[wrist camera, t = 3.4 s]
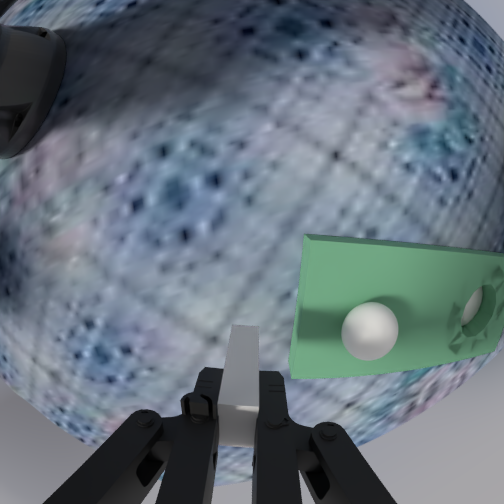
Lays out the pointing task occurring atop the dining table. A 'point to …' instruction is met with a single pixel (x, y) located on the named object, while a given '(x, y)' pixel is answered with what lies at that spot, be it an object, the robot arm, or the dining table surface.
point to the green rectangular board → (395, 304)
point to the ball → (369, 331)
